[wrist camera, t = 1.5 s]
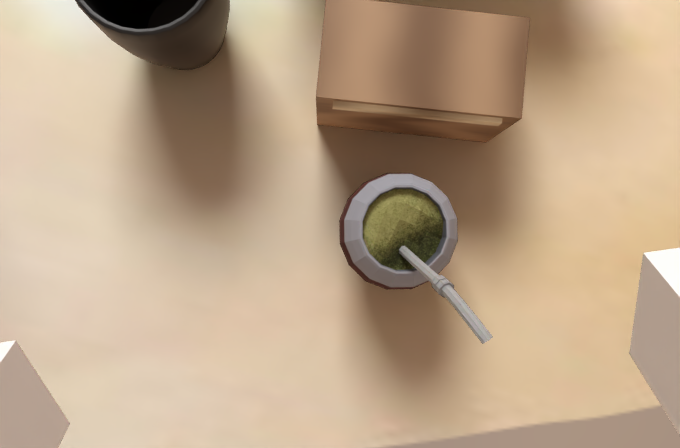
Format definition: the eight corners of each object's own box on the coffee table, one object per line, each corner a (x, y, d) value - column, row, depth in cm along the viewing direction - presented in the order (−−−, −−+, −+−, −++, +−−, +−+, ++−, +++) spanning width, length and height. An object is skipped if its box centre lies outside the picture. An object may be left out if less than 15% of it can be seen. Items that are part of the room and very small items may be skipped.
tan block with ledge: (316, 128, 39) (315, 101, 32) (325, 41, 39) (326, -5, 32) (485, 146, 39) (521, 123, 32) (493, 59, 40) (529, 17, 33)
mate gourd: (359, 169, 39) (382, 116, 24) (463, 211, 39) (551, 185, 24) (319, 268, 38) (317, 278, 24) (425, 310, 39) (490, 347, 24)
